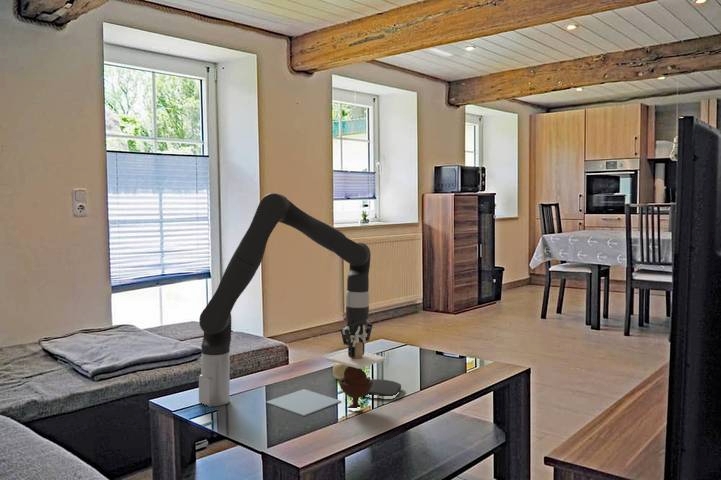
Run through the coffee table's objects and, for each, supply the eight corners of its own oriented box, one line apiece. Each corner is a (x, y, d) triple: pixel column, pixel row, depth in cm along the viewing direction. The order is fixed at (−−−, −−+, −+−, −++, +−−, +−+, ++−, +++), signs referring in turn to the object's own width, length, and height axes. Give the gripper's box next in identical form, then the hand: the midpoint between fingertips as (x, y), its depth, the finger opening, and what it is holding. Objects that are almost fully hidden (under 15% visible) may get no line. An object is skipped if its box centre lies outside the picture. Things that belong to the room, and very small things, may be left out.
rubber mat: (303, 416, 194) (303, 415, 194) (266, 402, 205) (266, 401, 205) (341, 402, 208) (341, 400, 208) (304, 390, 219) (304, 389, 219)
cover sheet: (358, 368, 190) (359, 350, 189) (326, 360, 199) (326, 342, 198) (386, 359, 200) (386, 342, 200) (353, 351, 209) (354, 335, 209)
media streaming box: (402, 388, 224) (403, 380, 224) (394, 401, 210) (394, 393, 210) (364, 384, 228) (364, 376, 227) (353, 397, 214) (354, 389, 213)
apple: (358, 378, 234) (354, 363, 229) (340, 388, 231) (336, 374, 227) (349, 366, 240) (345, 352, 236) (331, 376, 237) (327, 362, 233)
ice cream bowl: (372, 415, 196) (373, 369, 194) (337, 414, 196) (338, 369, 195) (372, 404, 206) (373, 360, 205) (339, 403, 206) (340, 359, 205)
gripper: (351, 309, 190) (350, 362, 192) (379, 303, 201) (378, 354, 203) (334, 305, 195) (333, 358, 196) (362, 300, 206) (361, 350, 207)
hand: (356, 355), depth 200 cm, fingers closed on cover sheet, 4 cm apart
